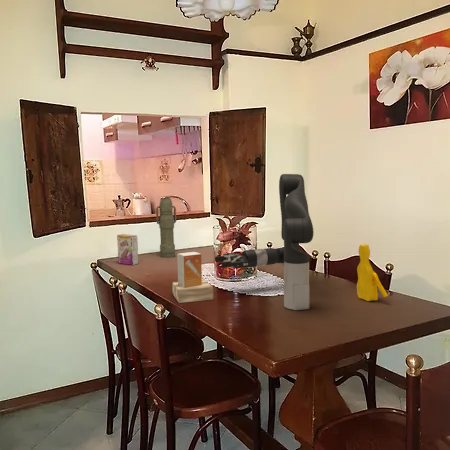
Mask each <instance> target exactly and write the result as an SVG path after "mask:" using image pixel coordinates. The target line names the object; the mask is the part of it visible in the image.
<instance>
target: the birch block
mask: <svg viewBox="0 0 450 450" xmlns="http://www.w3.org/2000/svg"><path fill="white" fill-rule="evenodd" d="M171 284H172V285H171V286H172V287H171V288H172V290H171V291H172V295H173V296H174V298H175V299H176V301H177V302H178V303H179V304H181V303H189V302H191V303H192V302H200V301H201V302H202V301H212V300H214V286H213V285H211V284H210V283H209V282H208V281H207V280H206V279H205V278H204V279H203V278H202V285H198V286H191V287H182V286H180V285H178V281H172V282H171Z"/></svg>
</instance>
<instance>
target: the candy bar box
mask: <svg viewBox="0 0 450 450" xmlns="http://www.w3.org/2000/svg"><path fill="white" fill-rule="evenodd" d="M116 239H117V242H116V243H117V257H118V258H117V259H118V264H120V265H121V264H122V265H127V266H136V265H139V247H138V246H139V245H138V244H139V243H138V235H137V234H129V233H128V234H126V233H121V234H117V236H116Z"/></svg>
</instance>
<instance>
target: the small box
mask: <svg viewBox="0 0 450 450" xmlns="http://www.w3.org/2000/svg"><path fill="white" fill-rule="evenodd" d="M176 256H177V259H176V260H177V261H176V262H177V282H178V285H180V286H182V287H191V286H198V285H202V280H203V277H202V271H203V270H202V269H203V268H202V253H199V252H196V251H190V252H188V251H187V252H182V253H177V254H176Z"/></svg>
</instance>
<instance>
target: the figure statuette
mask: <svg viewBox="0 0 450 450" xmlns="http://www.w3.org/2000/svg"><path fill="white" fill-rule="evenodd" d="M358 247H359V248H358V255H359V259H360V260H359V264H358V266H356V267H357V268H356V271H357V278H358V279H357V283H356V292H357V293H356V294H357V297H358V299H362V300H363V301H367V302H371V301H378V299H379V295H378V291H380V293H381V296H382V297H383V298H387V297H389V294H388V293H387V292H386V290H385V288H384V286H383V285H382V283H381V281H380V279H379V276H378V274H377V273H376V272H375V271H374V270H373V267H372V265H371V263H370V255H371V249H370V245H369V244H366V243H363V244H359V246H358Z"/></svg>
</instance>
